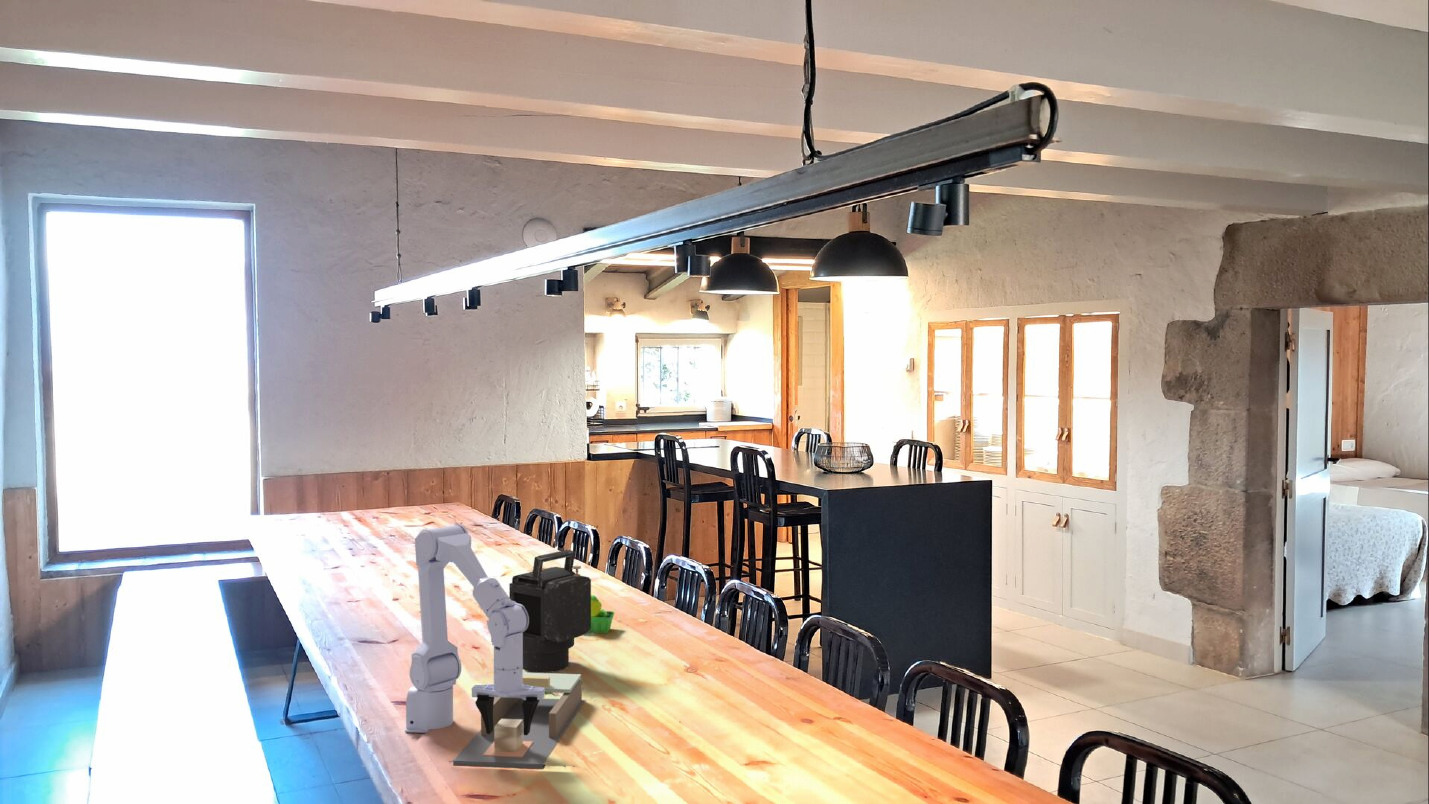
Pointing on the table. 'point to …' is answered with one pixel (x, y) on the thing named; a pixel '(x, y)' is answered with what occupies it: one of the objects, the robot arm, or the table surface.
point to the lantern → (552, 611)
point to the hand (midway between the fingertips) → (508, 732)
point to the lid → (552, 681)
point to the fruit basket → (599, 617)
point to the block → (508, 735)
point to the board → (536, 745)
